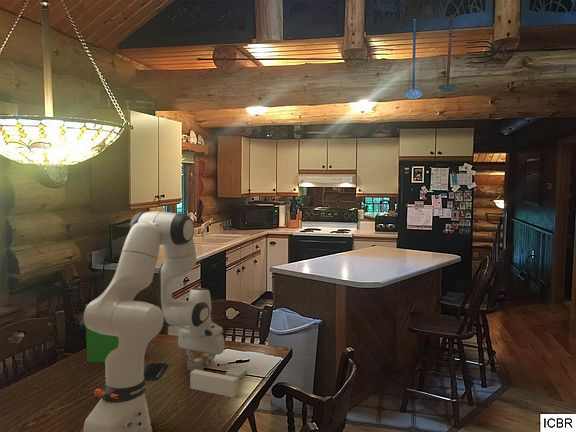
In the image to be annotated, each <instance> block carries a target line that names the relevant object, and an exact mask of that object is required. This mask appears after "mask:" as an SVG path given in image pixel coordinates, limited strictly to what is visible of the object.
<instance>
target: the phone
mask: <svg viewBox="0 0 576 432" xmlns="http://www.w3.org/2000/svg"><path fill="white" fill-rule="evenodd" d="M167 367H168V363H159V362H158V363H155V362H154V363H153V362H151V363H148V364H147V365H146V367H144V377H145V379H146V381H152V382H155V381H156V382H157V381H159V379H160V377H161V376H162V375H163V374H164V372H165V370H167Z"/></svg>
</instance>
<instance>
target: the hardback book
mask: <svg viewBox="0 0 576 432" xmlns="http://www.w3.org/2000/svg"><path fill="white" fill-rule="evenodd" d="M88 304H89V303H86V304H85V305H84V310H85V309H86V307H87V306H88ZM85 340H86V343H85V344H86V362H87V363H105V360H106V357H107V356H108V354H109V353H110V352H111V351H113V350H114V349H116V348H118V344H119V338H118V337H117V336H110V335H103V334H99V333H97V332H94V331H92V330H90V329H88V328H87V327H86V326H85Z"/></svg>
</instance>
